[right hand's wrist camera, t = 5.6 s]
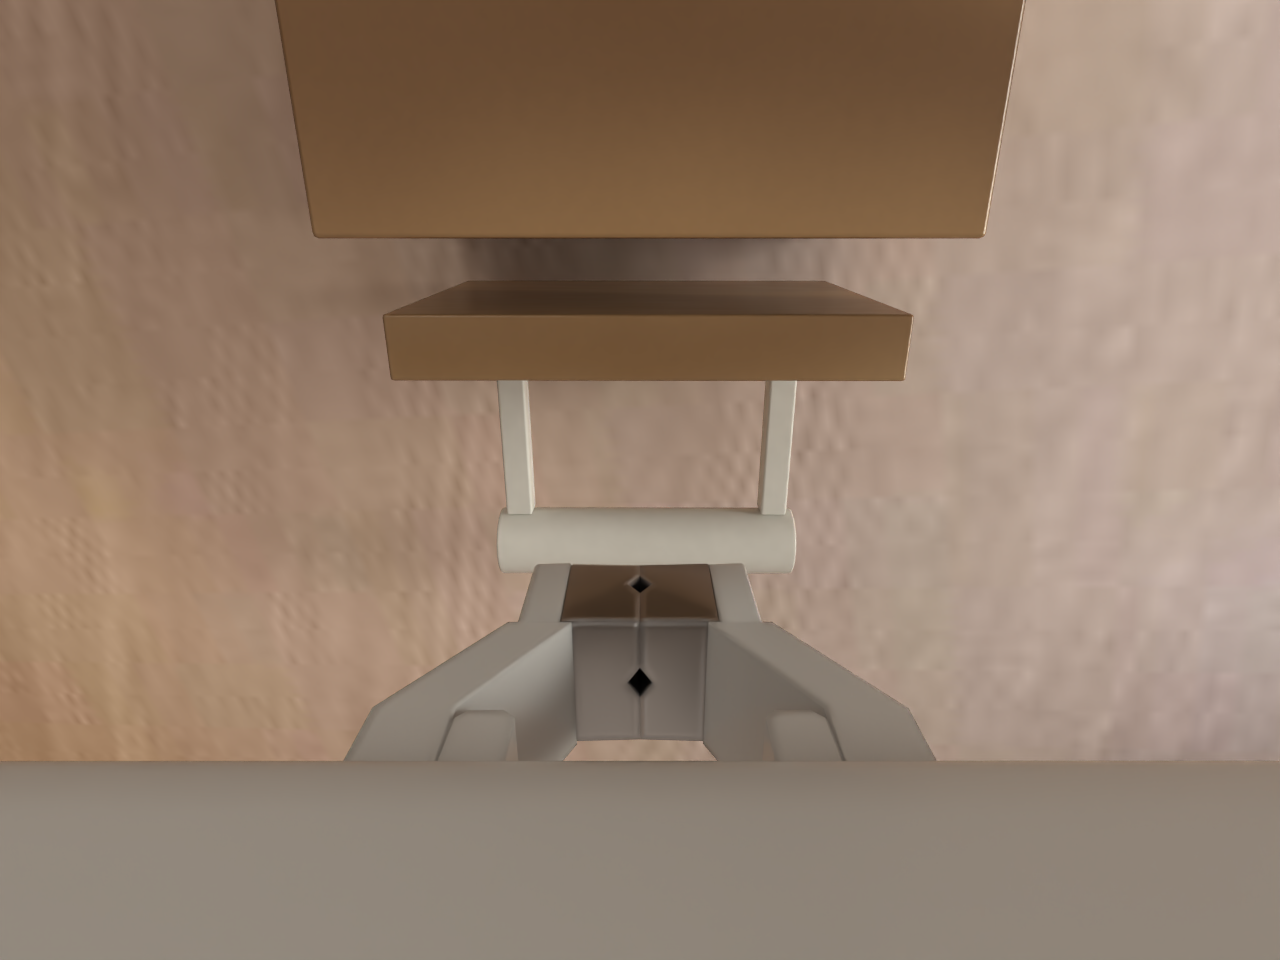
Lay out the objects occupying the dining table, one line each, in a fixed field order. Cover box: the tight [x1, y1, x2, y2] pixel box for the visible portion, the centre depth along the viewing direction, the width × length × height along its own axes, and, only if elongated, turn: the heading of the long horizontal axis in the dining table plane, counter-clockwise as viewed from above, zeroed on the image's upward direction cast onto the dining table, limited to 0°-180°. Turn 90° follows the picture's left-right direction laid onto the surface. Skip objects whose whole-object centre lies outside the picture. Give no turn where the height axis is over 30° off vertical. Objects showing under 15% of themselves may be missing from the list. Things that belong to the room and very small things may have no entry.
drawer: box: [383, 281, 914, 574], centre depth 13 cm, size 23×9×6 cm, turn 0°
